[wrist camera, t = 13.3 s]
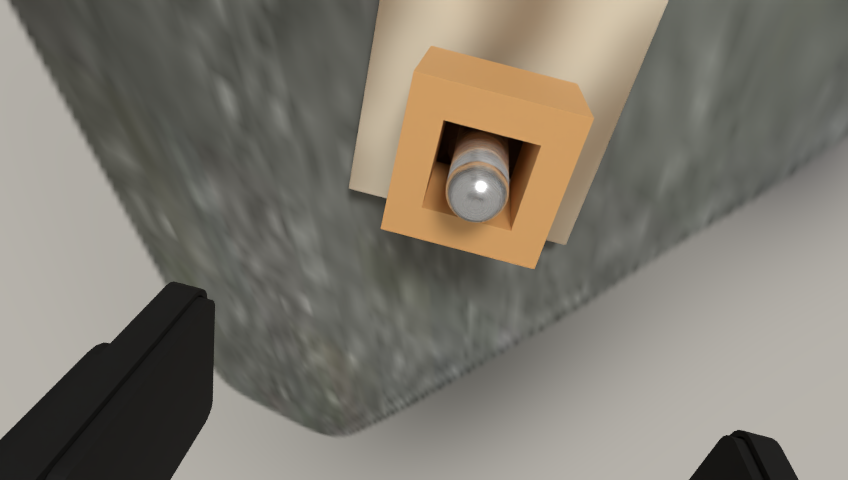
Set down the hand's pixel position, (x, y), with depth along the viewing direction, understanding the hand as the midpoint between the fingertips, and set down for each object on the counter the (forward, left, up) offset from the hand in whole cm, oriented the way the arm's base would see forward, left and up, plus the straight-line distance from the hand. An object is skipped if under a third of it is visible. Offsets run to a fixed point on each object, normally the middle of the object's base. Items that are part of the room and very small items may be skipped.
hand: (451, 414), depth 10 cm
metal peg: (0, 0, -19) cm, 19 cm away
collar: (0, 0, -17) cm, 17 cm away
